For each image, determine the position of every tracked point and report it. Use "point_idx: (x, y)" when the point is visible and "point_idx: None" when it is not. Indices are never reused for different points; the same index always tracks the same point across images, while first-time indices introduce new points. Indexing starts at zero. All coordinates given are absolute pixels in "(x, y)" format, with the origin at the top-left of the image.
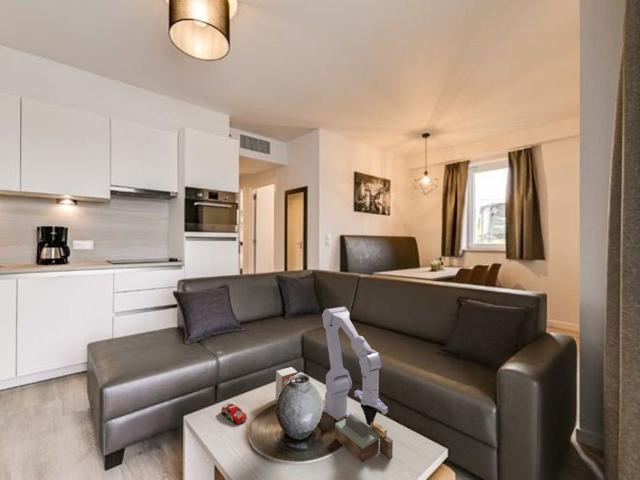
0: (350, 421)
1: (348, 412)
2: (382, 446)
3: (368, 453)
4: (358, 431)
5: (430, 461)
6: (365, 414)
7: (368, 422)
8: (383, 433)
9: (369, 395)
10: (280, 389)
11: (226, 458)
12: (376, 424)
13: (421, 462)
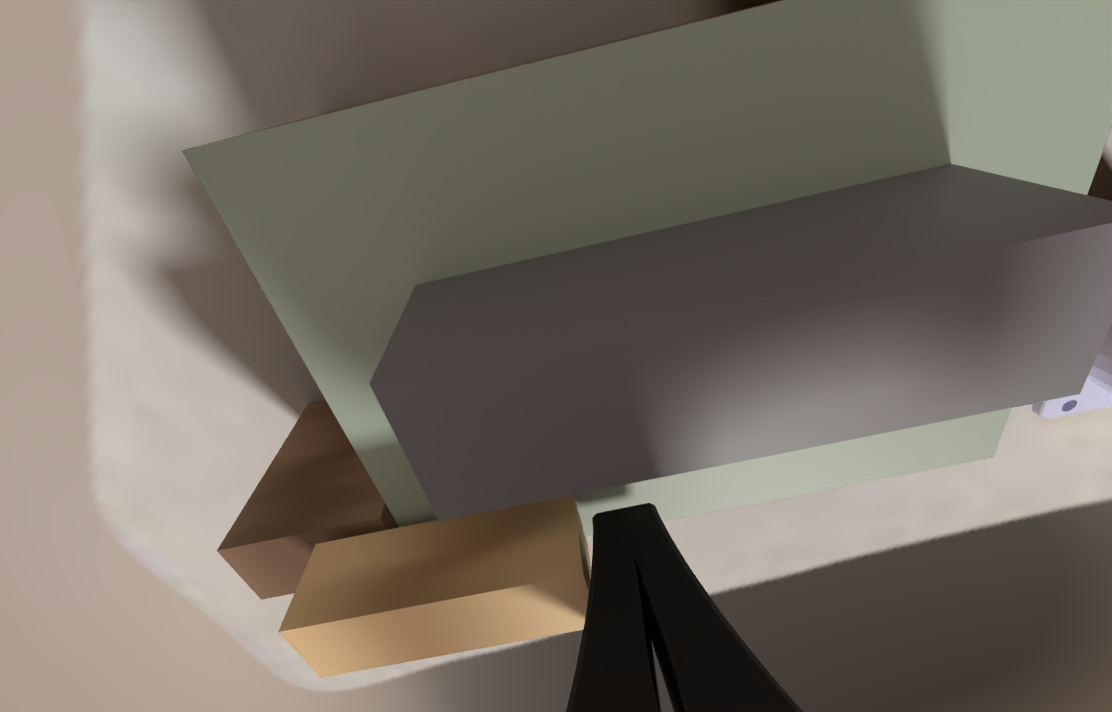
0: (877, 247)
1: (1082, 398)
2: None
3: None
4: (544, 277)
5: (231, 623)
6: (715, 683)
7: (606, 554)
8: (296, 602)
9: None
10: None
11: None
12: (494, 624)
13: (228, 580)
